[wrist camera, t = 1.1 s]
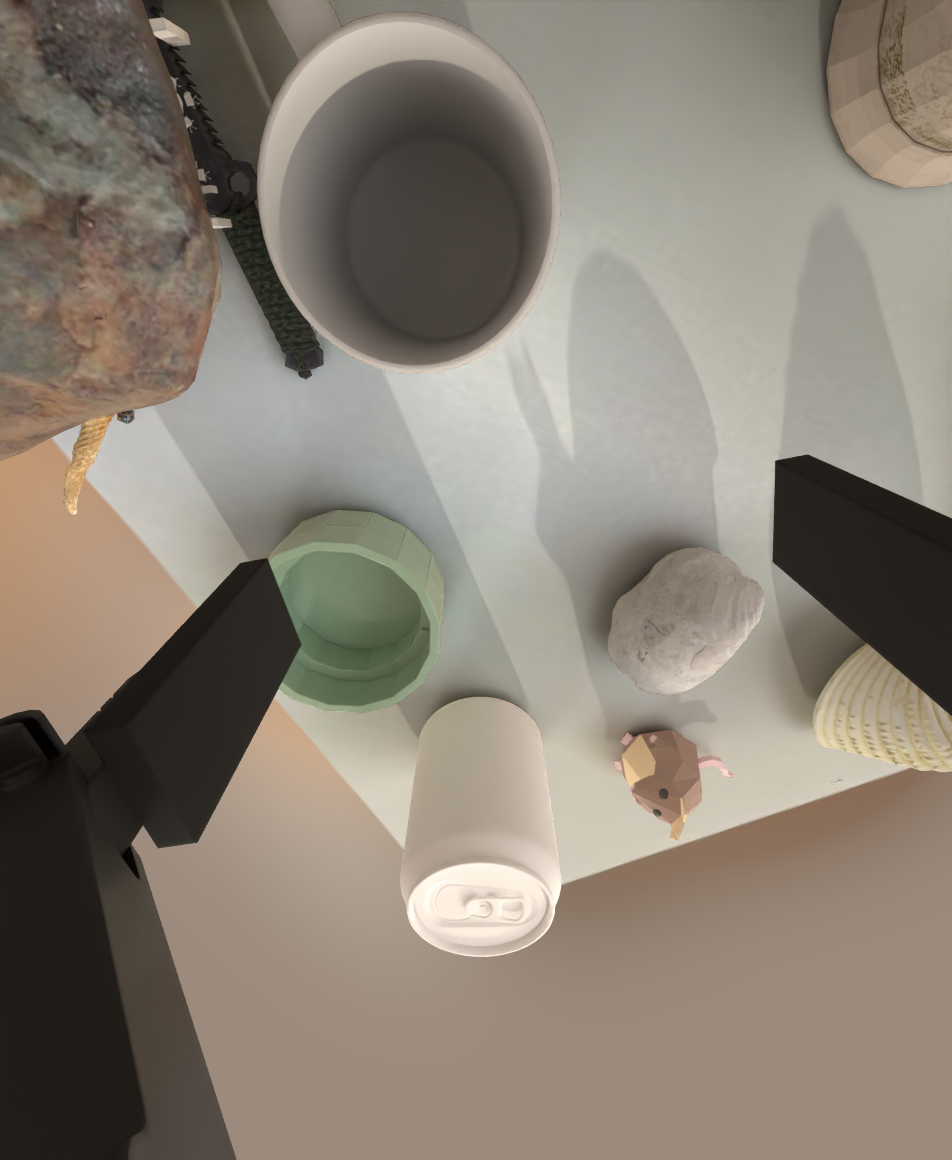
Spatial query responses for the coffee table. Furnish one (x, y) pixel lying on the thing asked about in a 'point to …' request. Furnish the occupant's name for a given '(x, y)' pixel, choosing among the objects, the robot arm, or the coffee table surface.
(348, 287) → the mug
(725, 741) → the coffee table surface
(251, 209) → the knife
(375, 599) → the bowl
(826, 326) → the coffee table surface
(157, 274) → the stone
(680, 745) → the mouse figurine
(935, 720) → the seashell
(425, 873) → the beverage can
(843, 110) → the mug
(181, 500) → the coffee table surface
